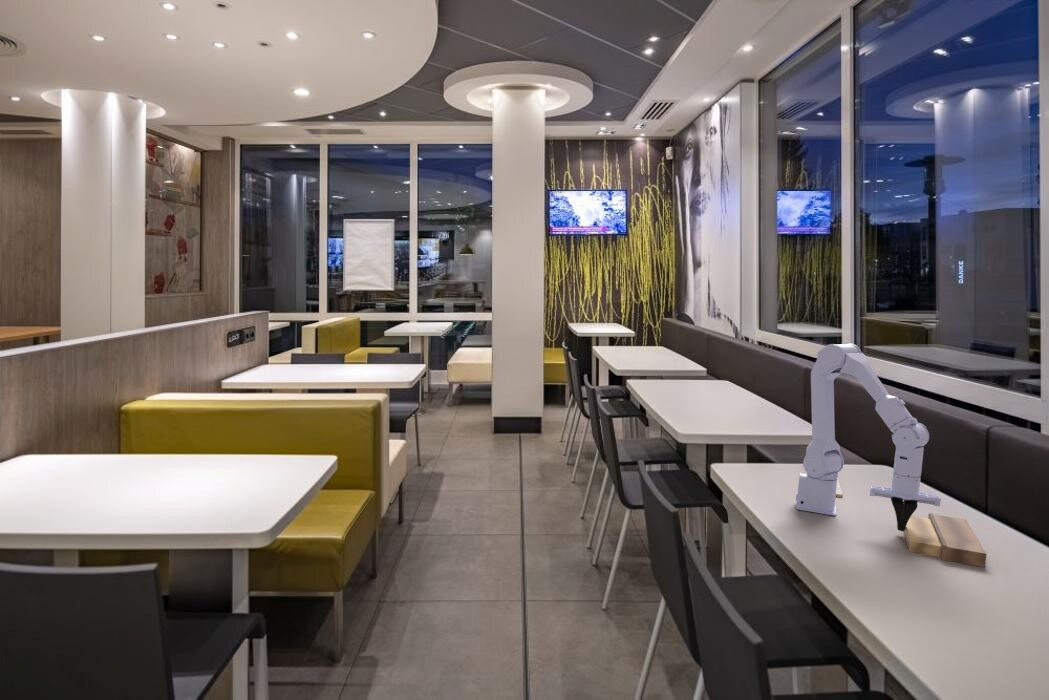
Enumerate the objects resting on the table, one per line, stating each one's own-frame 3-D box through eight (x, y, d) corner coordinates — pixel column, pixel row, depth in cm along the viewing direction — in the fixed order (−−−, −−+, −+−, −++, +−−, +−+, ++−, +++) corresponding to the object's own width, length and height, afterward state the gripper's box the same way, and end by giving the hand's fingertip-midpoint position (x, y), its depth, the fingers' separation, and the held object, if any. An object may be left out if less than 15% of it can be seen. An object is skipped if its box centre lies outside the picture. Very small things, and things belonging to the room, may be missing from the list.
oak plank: (909, 553, 152) (910, 540, 151) (900, 525, 170) (902, 514, 169) (940, 559, 149) (941, 546, 149) (928, 530, 167) (929, 518, 167)
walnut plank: (941, 559, 148) (943, 545, 147) (927, 525, 170) (928, 512, 169) (984, 567, 145) (986, 553, 144) (964, 531, 166) (966, 518, 166)
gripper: (873, 473, 159) (867, 528, 161) (944, 483, 153) (938, 541, 155) (871, 466, 166) (866, 519, 167) (940, 475, 160) (934, 531, 161)
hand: (900, 529), depth 161 cm, fingers closed
